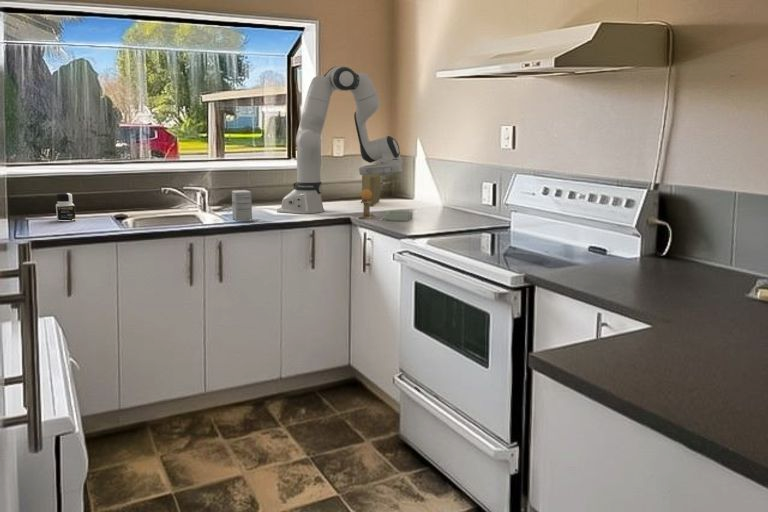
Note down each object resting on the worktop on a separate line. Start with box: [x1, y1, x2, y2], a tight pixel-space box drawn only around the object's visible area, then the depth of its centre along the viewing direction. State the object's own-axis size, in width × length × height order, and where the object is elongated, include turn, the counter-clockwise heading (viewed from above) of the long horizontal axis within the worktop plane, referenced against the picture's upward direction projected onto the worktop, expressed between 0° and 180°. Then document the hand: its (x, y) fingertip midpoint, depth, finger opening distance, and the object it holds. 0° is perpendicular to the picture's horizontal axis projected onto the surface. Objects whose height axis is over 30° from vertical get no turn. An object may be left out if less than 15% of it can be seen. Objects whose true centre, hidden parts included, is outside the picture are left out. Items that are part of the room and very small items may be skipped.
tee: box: [358, 199, 376, 220], centre depth 335 cm, size 6×6×8 cm
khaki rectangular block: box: [361, 174, 381, 207], centre depth 384 cm, size 22×10×15 cm, turn 1°
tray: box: [384, 210, 413, 222], centre depth 332 cm, size 10×10×3 cm
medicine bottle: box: [55, 192, 77, 220], centre depth 323 cm, size 7×7×12 cm
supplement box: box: [231, 189, 253, 221], centre depth 329 cm, size 7×7×13 cm
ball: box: [360, 189, 372, 200], centre depth 334 cm, size 5×5×5 cm
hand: (374, 171), depth 344 cm, fingers open, 8 cm apart
